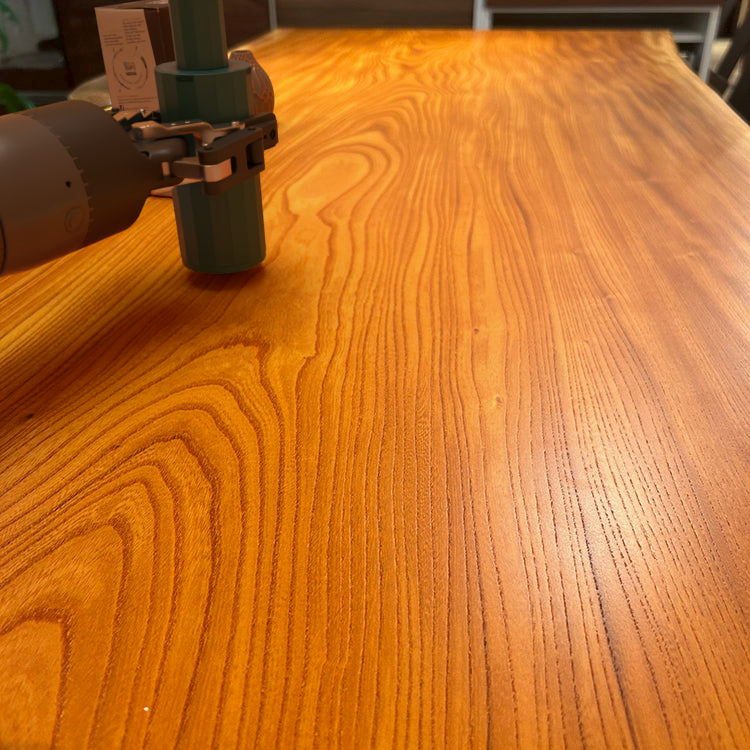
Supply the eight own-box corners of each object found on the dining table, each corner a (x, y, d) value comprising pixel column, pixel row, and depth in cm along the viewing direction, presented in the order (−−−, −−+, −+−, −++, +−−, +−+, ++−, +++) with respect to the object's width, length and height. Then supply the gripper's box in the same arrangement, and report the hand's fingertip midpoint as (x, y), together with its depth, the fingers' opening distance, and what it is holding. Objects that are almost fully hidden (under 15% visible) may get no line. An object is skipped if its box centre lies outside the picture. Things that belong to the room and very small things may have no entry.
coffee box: (185, 199, 71) (157, 6, 63) (125, 194, 73) (89, 6, 65) (229, 171, 79) (209, -4, 71) (173, 167, 81) (147, -4, 72)
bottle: (168, 271, 54) (126, 0, 45) (200, 240, 59) (168, -9, 50) (251, 276, 53) (224, 1, 44) (276, 244, 58) (257, -8, 49)
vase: (232, 137, 91) (223, 57, 87) (212, 125, 97) (203, 50, 92) (285, 129, 94) (280, 52, 90) (263, 118, 100) (257, 45, 95)
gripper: (119, 130, 36) (318, 72, 48) (-76, 101, 42) (145, 56, 54) (145, 281, 39) (323, 191, 52) (-37, 234, 45) (161, 163, 58)
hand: (232, 122), depth 53 cm, fingers closed on bottle, 6 cm apart
